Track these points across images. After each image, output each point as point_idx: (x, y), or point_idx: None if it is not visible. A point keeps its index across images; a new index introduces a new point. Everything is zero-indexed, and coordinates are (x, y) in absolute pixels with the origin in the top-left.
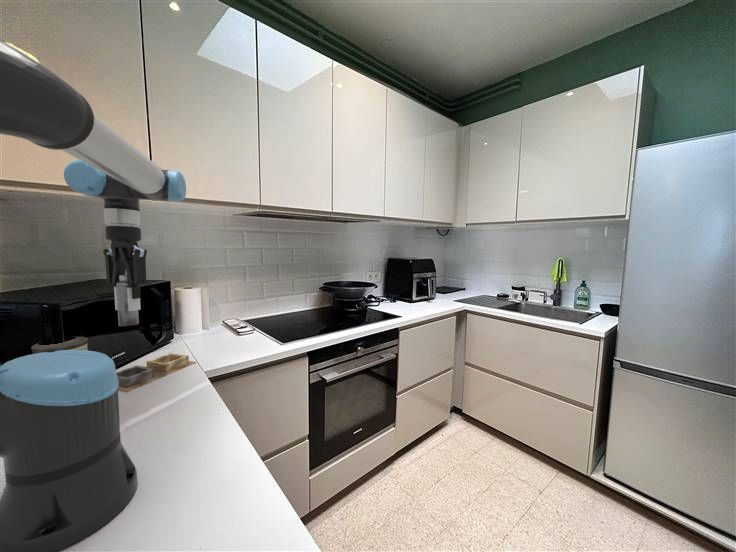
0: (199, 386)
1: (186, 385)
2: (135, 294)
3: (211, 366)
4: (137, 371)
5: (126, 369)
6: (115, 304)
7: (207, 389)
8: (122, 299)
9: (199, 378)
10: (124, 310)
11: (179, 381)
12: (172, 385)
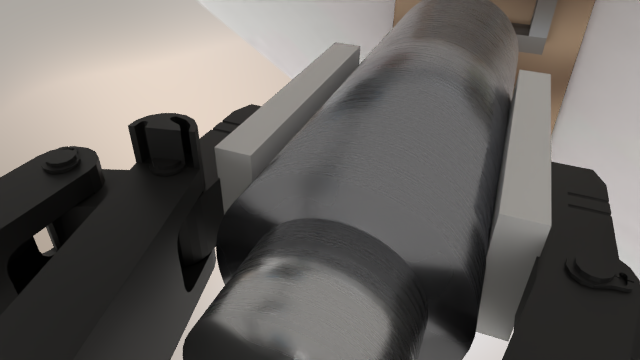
0: (245, 18)
1: (290, 16)
2: (219, 128)
3: None
4: (514, 28)
5: (548, 2)
6: (542, 96)
7: (206, 3)
8: (367, 74)
9: (295, 74)
10: (390, 38)
11: (340, 40)
12: (337, 5)
